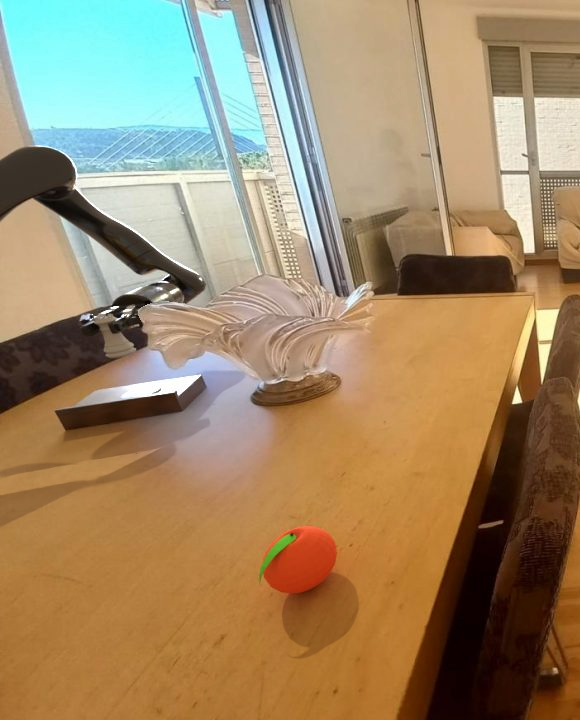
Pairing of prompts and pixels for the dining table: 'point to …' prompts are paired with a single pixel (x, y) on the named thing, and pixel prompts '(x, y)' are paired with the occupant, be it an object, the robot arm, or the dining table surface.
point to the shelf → (132, 402)
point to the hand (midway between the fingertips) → (99, 330)
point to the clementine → (299, 560)
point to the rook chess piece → (113, 339)
